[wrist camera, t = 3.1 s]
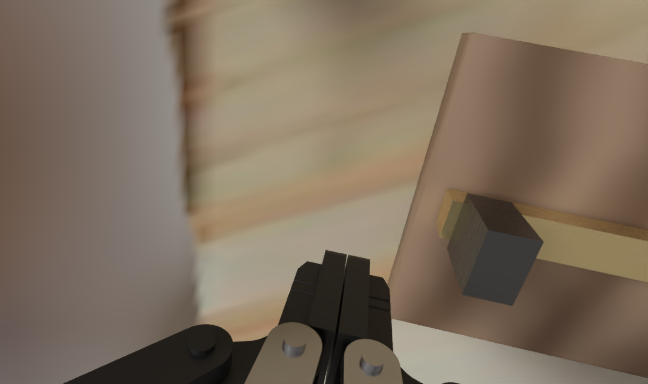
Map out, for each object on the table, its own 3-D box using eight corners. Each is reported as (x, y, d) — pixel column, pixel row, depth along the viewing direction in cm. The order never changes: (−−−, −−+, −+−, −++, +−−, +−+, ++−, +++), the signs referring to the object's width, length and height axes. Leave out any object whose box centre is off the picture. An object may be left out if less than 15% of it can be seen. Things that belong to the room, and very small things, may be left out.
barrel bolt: (432, 231, 19) (449, 291, 14) (450, 178, 18) (474, 227, 13) (752, 300, 18) (879, 388, 13) (794, 249, 17) (950, 328, 12)
